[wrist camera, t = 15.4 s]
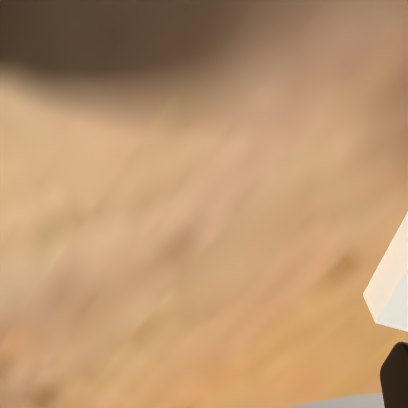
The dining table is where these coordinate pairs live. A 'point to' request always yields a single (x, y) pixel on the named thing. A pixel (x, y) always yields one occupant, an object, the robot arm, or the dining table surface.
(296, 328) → the dining table surface
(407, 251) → the keyhole board
